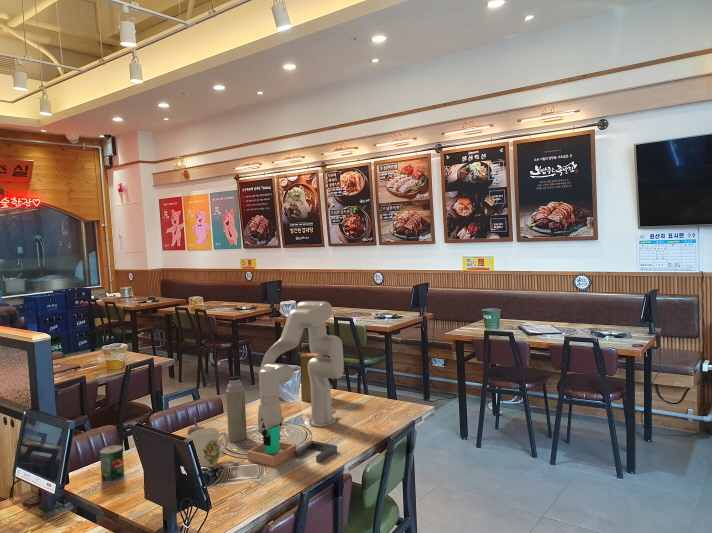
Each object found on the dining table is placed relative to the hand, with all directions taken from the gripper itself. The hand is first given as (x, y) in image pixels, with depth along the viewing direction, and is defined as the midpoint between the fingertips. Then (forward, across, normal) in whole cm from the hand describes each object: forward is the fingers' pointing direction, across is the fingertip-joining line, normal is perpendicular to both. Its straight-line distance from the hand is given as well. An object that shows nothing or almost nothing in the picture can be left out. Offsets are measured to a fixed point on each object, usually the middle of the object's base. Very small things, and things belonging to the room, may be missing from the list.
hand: (271, 442), depth 208 cm
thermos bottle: (+6, -8, -27) cm, 29 cm away
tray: (+6, 0, 0) cm, 6 cm away
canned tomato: (+6, +42, -43) cm, 61 cm away
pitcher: (+6, +17, -18) cm, 26 cm away
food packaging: (+6, -70, -29) cm, 76 cm away
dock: (+6, -9, +15) cm, 18 cm away
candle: (+4, 0, 0) cm, 4 cm away
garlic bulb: (+6, -3, -48) cm, 48 cm away
